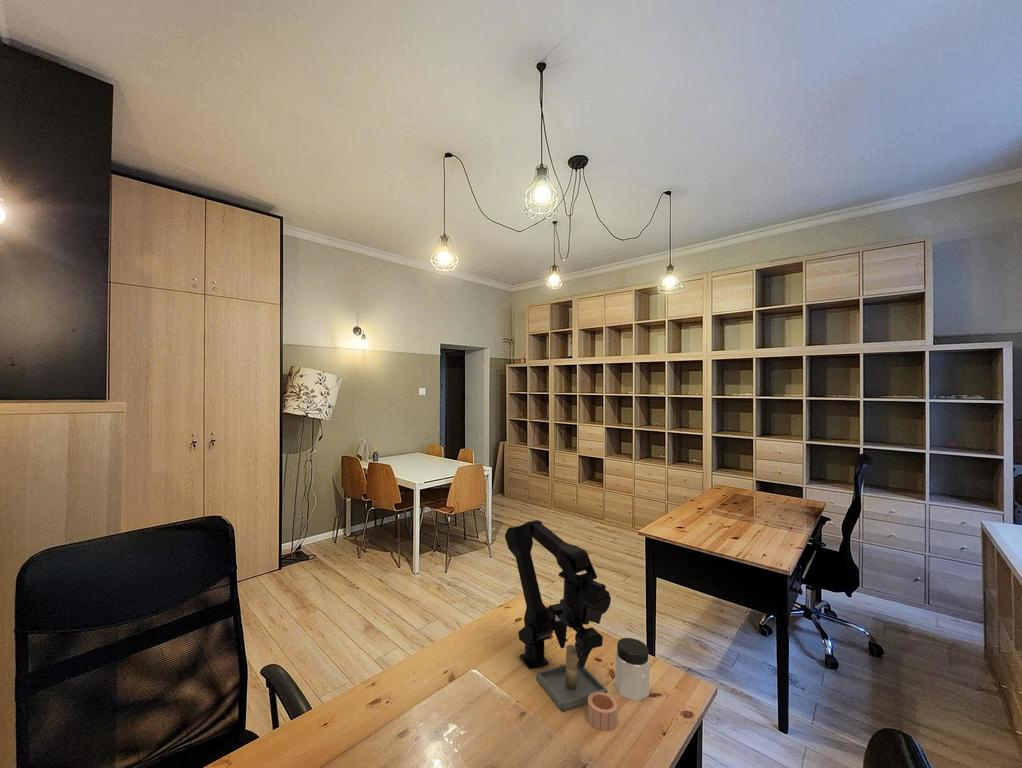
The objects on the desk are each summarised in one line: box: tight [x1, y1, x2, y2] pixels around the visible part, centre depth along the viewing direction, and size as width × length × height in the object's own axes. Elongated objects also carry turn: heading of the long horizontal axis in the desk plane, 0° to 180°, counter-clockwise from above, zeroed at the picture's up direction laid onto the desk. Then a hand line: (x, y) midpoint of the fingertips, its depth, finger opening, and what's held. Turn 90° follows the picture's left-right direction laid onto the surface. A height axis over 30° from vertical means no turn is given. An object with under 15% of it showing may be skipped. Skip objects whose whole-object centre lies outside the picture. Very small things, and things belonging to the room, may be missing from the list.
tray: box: [535, 660, 608, 713], centre depth 110 cm, size 13×14×2 cm
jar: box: [614, 637, 651, 703], centre depth 110 cm, size 9×8×12 cm
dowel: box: [565, 644, 578, 690], centre depth 110 cm, size 3×3×10 cm
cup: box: [586, 692, 619, 731], centre depth 99 cm, size 7×7×4 cm
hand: (571, 657), depth 110 cm, fingers open, 9 cm apart
